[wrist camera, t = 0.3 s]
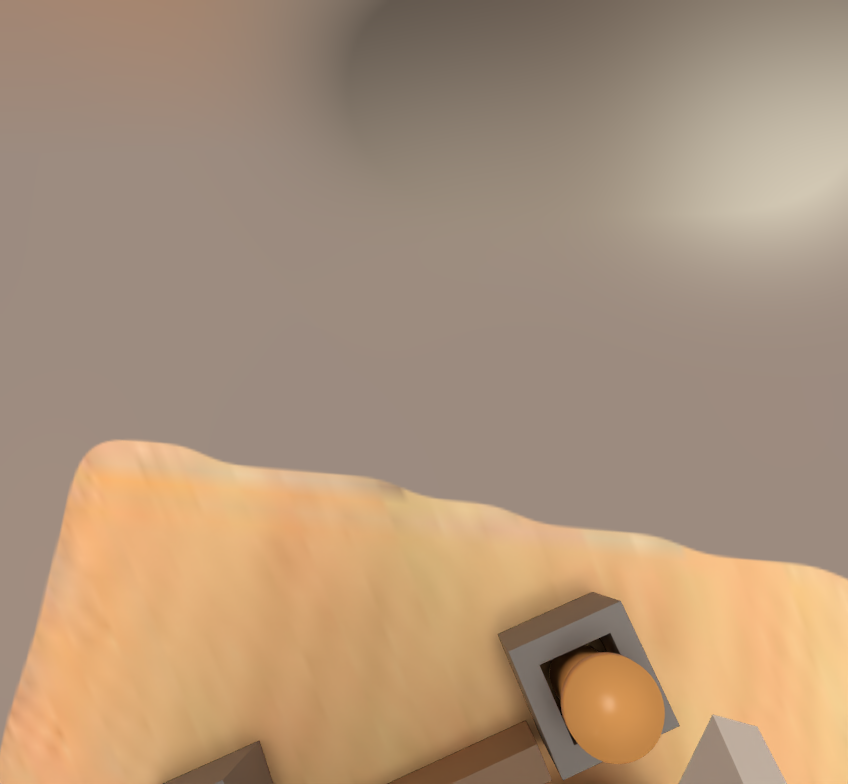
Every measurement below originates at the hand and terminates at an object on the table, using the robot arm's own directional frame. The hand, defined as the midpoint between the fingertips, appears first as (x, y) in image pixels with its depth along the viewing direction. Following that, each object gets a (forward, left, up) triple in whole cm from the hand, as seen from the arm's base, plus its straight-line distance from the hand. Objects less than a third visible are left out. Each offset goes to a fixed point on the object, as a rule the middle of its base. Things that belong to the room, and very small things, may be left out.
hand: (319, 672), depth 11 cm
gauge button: (-9, -7, -30) cm, 32 cm away
